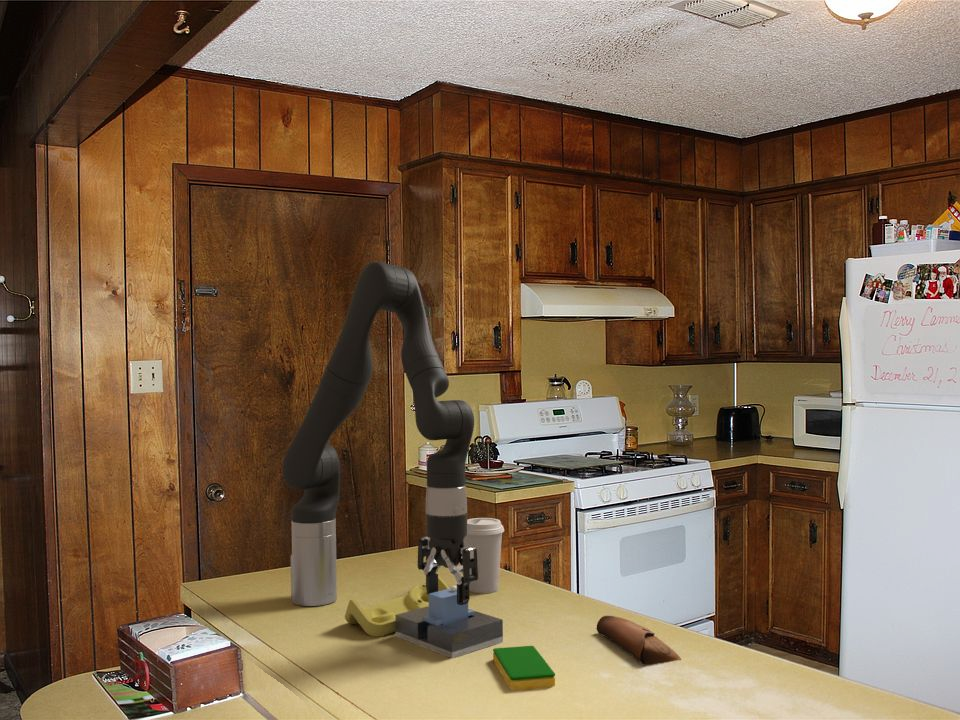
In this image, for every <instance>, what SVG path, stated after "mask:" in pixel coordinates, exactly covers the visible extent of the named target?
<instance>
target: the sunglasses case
mask: <svg viewBox="0 0 960 720" xmlns="http://www.w3.org/2000/svg"><path fill="white" fill-rule="evenodd" d="M596 632H598V633H599V634H600V635H601V636H604V637H605V638H607V639H609V640H611V641H612V642H613V643H615V644H616V645H617V646H619V647H620V648H622V649H623V651H625V652H626V653H628V654H629V655H630V656H631V657H633V658H634V659H635V660H636V661H638V662H640V664H642V666H647V665H657V664H662V663H663V664H664V663H670V662H676V661H682V658H681V657H680V656H679V654H677V652H676V651H674V649H672V648H671V647H670V646H669V645H668V644H666V643H665V642H664V641H663V640H661V639H660V638H658V637H657V636H655V632H653V631H652V630H650V629H649V628H647V627H645V626H642V625H641V624H638V623H636V622H633V621H631V620H628V619H626V618H623V617H620V616H619V617H618V616H615V615H604V616H601V617H600V618H599V620H598V622H597V624H596Z"/></svg>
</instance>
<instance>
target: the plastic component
mask: <svg viewBox="0 0 960 720" xmlns="http://www.w3.org/2000/svg"><path fill="white" fill-rule="evenodd" d="M450 588H451V587H450V586H449V585H448V584H447V582H445V580H444V579H442V577H441V576H440V575H439V574H438V591H442V590H446V589H450ZM427 606H429V595H427V590H426V582H425V583H421V584H420V585H417V586H414V587H412V588H410V590H408V592H407V594H406V595H402V596H400V597H396V598H393V599H392V598H391V599H389V600H386V601H383V602H380V603H376V604H373V605H369V606H366V607H363V608H362V607H361V605H360V604H359V603H358V602H357V600H356V599H350V600H349V601H348V605H347V608H346V611H345V613H344V619H345V621H346V622H347V623H348V624H351V625H355V624H359V626H360V627H361V628H362V629H363V631H364V632H365V633H366V634H368V636H370V637H382V636H387V635H390V634H393V633H396V623H395V615H397V614H401V613H405V612H409V611H412V610H416V609H420V608H424V607H427Z"/></svg>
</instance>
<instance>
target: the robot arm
mask: <svg viewBox="0 0 960 720" xmlns="http://www.w3.org/2000/svg"><path fill="white" fill-rule="evenodd" d="M355 284H356V285H355V287H354V290H353V293H352V297H351V300H350V304H349V306H348V310H347V313H346V316H345V319H344V323H343V325H342V328H341V330H340V333H339V335H338V338H337V341H336V344H335V346H334V349H333V351H332V354H331V355H330V358H329V360H328V361H327V364H326V366H325V368H324V371H323V373H322V375H321V379H320V381H319V384H318V386H317V390H316V392H315V394H314V396H313V399H312V400H311V403H310V404H309V407H308V409H307V412H306V414H305V417H304V419H303V421H302V422H301V425H300V426H299V428H298V430H297V431H296V434H295V435H294V436H293V440H292V441H291V443H290V444H289V446H288V448H287V450H286V453H285V454H284V457H283V460H282V465H281V467H282V468H281V469H282V470H281V473H282V478H283V481H284V482H285V484H286V485H287V487H289V488H291V489H294V490H304V493H303V495H302V497H301V498H300V500H299V501H298V502H297V503H295V504H294V505H293V506H292V508H291V512H290V517H291V519H290V520H291V555H290V592H291V593H290V595H291V600H292V603H293V604H294V605H297V606H301V607H316V606H317V607H318V606H325V605H329V604H331V603H334V602H336V601H337V599H338V591H337V590H338V587H337V586H338V585H337V582H338V581H337V580H338V578H337V571H338V570H337V530H336V529H337V528H336V527H337V523H336V522H337V521H336V519H337V518H336V515H337V514H336V512H337V508H338V506H339V501H340V489H341V487H340V486H341V485H340V484H341V465H340V458H339V455H338V452H337V450H336V449H335V448H334V446H332V444H330V443H328V442H329V440H330V438H331V437H332V435H333V434H334V433H335V431H336V430H337V429H338V428H339V427H340V426H341V425H342V424H343V423H344V422H345V420H347V419H348V417H350V415H351V414H352V413H353V412H354V411H355V410H356V409H357V407H358V406H359V405H360V403H361V401H362V399H363V398H364V395H365V393H366V390H367V388H368V386H369V384H370V381H371V379H372V375H373V372H374V370H373V367H374V366H373V364H374V363H373V357H372V356H373V355H372V350H371V345H370V336H371V335H370V333H371V331H372V330H371V329H372V327H373V324H374V321H375V318H376V316H377V314H378V312H379V310H380V311H383V312H384V311H385V312H390V313H394V314H395V315H396V316H397V318H398V320H399V321H400V323H401V326H402V328H403V340H402V345H401V351H400V353H401V354H400V357H401V359H400V360H401V365H402V369H403V371H404V373H405V376H406V378H407V380H408V383H409V385H410V388H411V391H412V396H413V405H414V415H415V424H416V428H417V430H418V432H419V434H421V436H422V437H423V438H424V439H426V440H429V441H443V440H446V441H445V444H444V446H443V448H442V449H441V450H439V451H437V452H434V453H431V454H430V455H428V456H427V459H426V460H427V461H426V490H425V491H426V493H425V536H422V537H419V538H418V539H417V568H418V570H419V571H421V570H422V571H423V574H424V575H425V583H426V590H427V595H429V594H430V593H434V592H438V575H439V573H438V572H439V570H440V567H444V568H446V569H448V570H449V572H450V573H451V574H452V575H453V576H454V578H455V582H456V583H457V584H456V586H457V604H458V605H464V604H467V603H468V604H469V601H470V597H471V596H470V591H469V584H470V582H472V581H476V580H478V564H477V549H476V547H470V548H467V547H465V546H464V537H465V536H466V535H467V520H468V498H467V497H468V496H467V490H466V489H467V487H466V461H467V456H468V454H469V449H470V446H471V442H472V438H473V434H474V429H475V416H474V412H473V409H472V407H471V405H469V404H468V402H466V401H465V400H460V399H453V400H438V399H437V398H439V397H440V396H442V395H443V394H445V393H446V392H447V390H448V389H449V388H450V387H449V386H450V381H449V378H448V377H449V376H448V375H447V372H446V370H445V368H444V366H443V363H442V361H441V359H440V356H439V354H438V352H437V349H436V346H435V344H434V341H433V338H432V334H431V332H430V327H429V321H428V319H427V314H426V309H425V307H424V305H425V304H424V302H423V301H424V300H423V297H422V293H421V289H420V286H419V283H418V280H417V277H416V276H415V274H414V273H413V272H412V270H410V269H408V268H405V267H402V266H399V265H393V264H391V263H387V262H381V261H372V262H369V263H368V264H367V265H365V267H364V268H363V269H362V271H361V272H360V274H359V276H358V279H357V282H356V283H355ZM424 558H425V559H424ZM470 568H471V572H472V574H471V575H470V571H469V570H470ZM461 574H462V575H461Z"/></svg>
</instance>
